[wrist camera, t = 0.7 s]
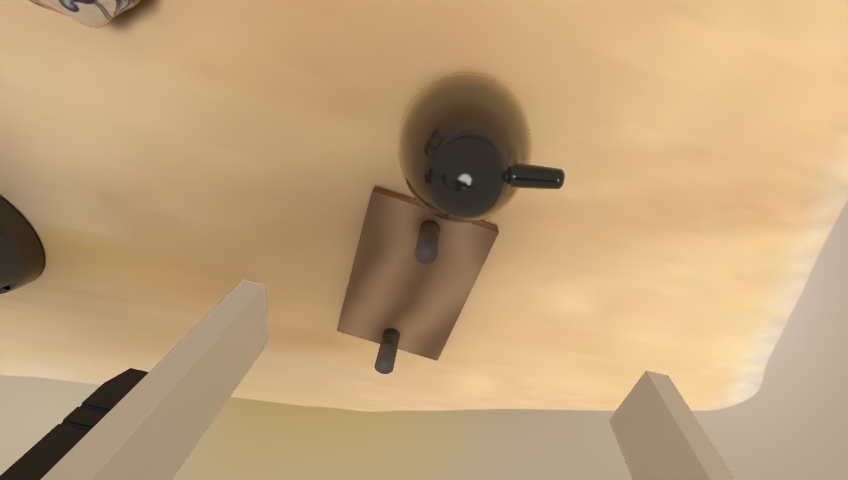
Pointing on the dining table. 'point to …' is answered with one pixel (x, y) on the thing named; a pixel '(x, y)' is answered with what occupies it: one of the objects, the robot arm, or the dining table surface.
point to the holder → (411, 277)
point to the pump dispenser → (468, 149)
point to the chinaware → (89, 9)
